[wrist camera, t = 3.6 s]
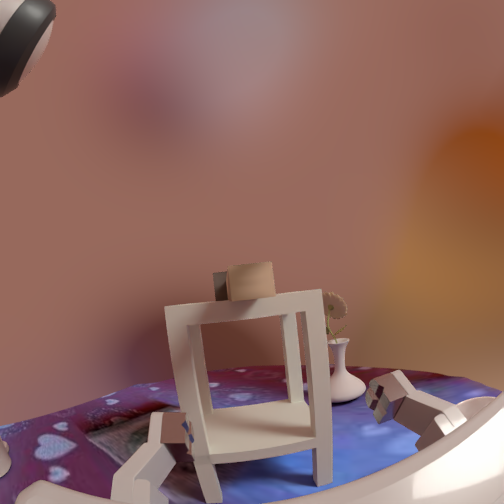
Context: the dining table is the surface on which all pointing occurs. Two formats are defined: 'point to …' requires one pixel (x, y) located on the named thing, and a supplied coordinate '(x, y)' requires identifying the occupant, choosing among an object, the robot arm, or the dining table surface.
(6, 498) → the dining table surface
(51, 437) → the dining table surface
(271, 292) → the mallet
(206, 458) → the shelf stand
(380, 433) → the dining table surface
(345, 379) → the flower in vase
